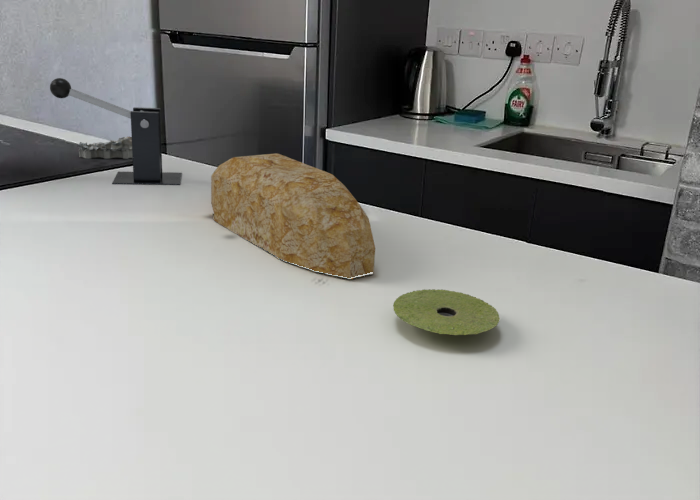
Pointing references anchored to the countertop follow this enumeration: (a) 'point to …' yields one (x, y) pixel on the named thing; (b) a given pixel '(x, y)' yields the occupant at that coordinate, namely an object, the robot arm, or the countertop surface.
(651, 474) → the countertop surface
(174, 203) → the countertop surface
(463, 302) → the green disc with hole
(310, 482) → the countertop surface
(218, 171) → the bread
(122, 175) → the bracket
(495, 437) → the countertop surface
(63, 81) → the lever
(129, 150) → the egg carton
